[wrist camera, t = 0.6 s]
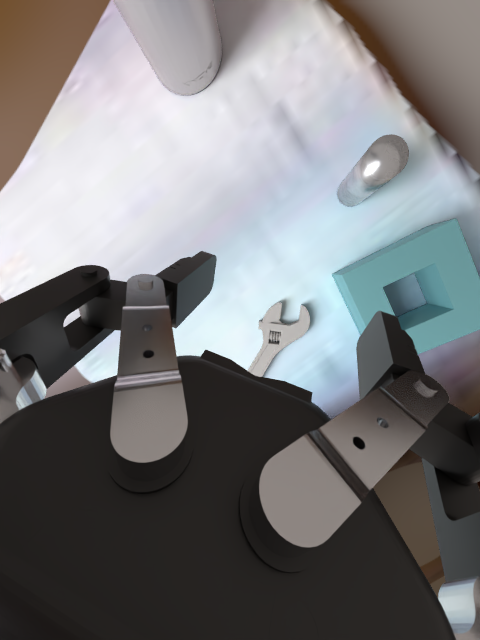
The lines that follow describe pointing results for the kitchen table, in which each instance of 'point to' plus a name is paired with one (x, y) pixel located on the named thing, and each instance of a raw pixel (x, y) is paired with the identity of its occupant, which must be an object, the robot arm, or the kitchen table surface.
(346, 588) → the robot arm
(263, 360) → the adjustable wrench
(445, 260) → the socket block
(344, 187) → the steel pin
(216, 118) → the kitchen table surface
